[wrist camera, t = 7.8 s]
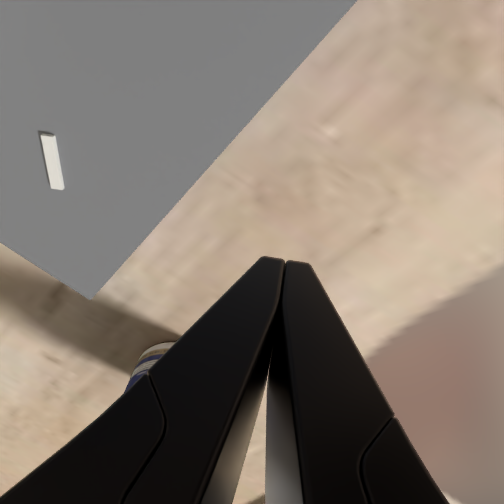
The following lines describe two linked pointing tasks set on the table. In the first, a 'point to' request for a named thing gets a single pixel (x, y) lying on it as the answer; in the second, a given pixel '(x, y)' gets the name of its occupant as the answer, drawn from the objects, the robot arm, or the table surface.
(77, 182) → the dial plate
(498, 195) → the table surface
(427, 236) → the table surface
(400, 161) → the table surface
